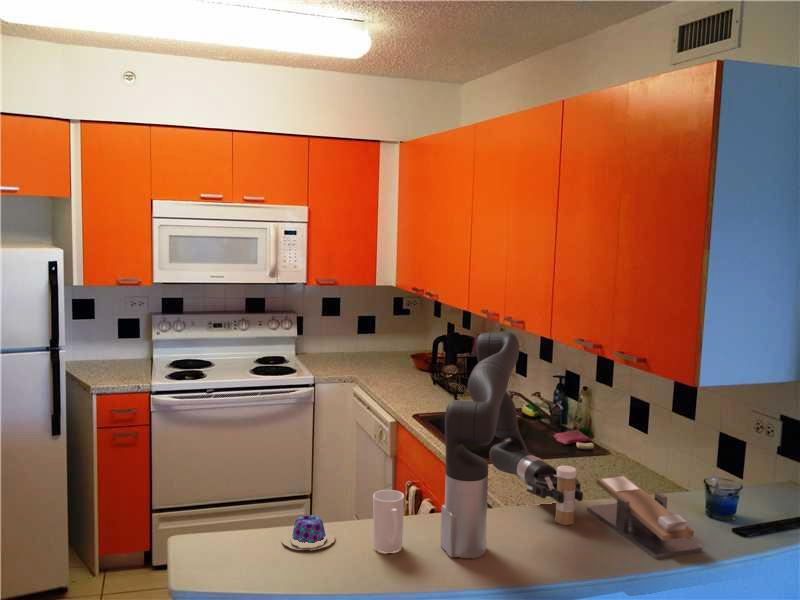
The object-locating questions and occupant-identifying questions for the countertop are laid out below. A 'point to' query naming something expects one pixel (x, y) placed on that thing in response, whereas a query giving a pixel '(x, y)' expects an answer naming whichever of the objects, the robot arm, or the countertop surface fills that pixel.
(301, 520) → the pudding
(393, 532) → the mug
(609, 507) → the stand
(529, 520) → the countertop surface
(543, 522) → the countertop surface
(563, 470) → the sprinkles bottle
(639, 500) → the balance beam
